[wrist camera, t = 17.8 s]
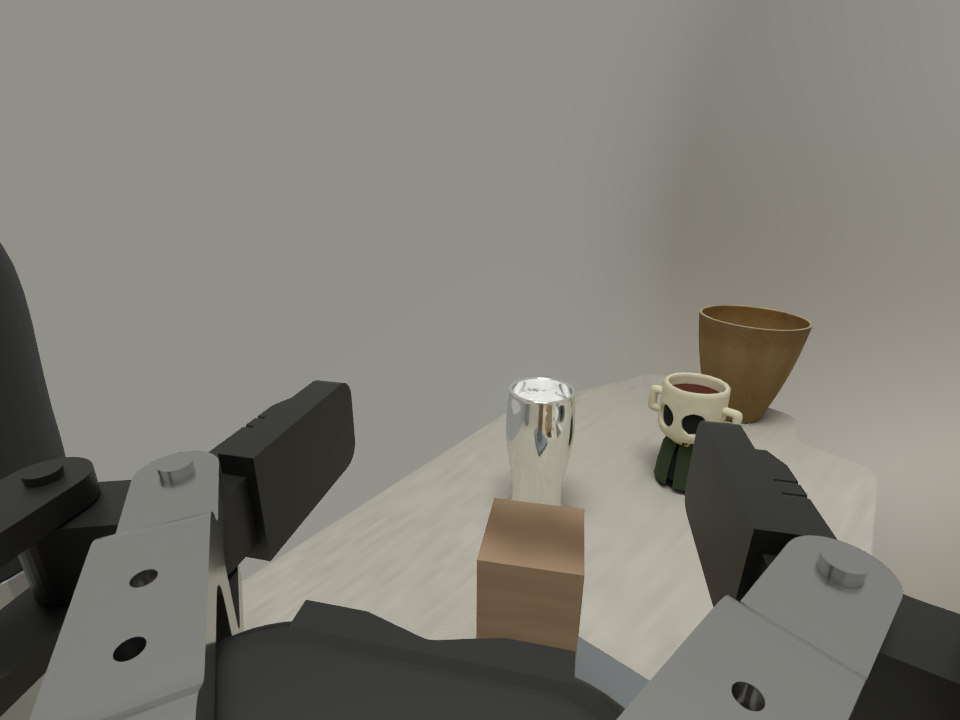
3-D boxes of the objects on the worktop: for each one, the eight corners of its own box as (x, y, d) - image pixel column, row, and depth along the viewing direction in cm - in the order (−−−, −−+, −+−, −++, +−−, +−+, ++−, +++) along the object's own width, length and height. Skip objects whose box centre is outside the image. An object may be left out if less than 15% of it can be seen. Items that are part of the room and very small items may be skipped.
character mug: (625, 473, 63) (637, 377, 58) (654, 453, 67) (667, 363, 63) (711, 514, 55) (732, 407, 51) (738, 489, 59) (759, 389, 55)
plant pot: (775, 446, 69) (802, 336, 64) (670, 414, 78) (685, 316, 73) (797, 411, 80) (821, 314, 74) (701, 387, 89) (717, 299, 84)
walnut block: (562, 799, 28) (584, 575, 23) (475, 780, 29) (477, 560, 24) (564, 712, 33) (584, 509, 27) (490, 697, 34) (494, 497, 28)
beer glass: (573, 504, 56) (583, 382, 51) (558, 543, 50) (568, 408, 45) (515, 490, 59) (519, 372, 54) (494, 525, 53) (496, 396, 48)
